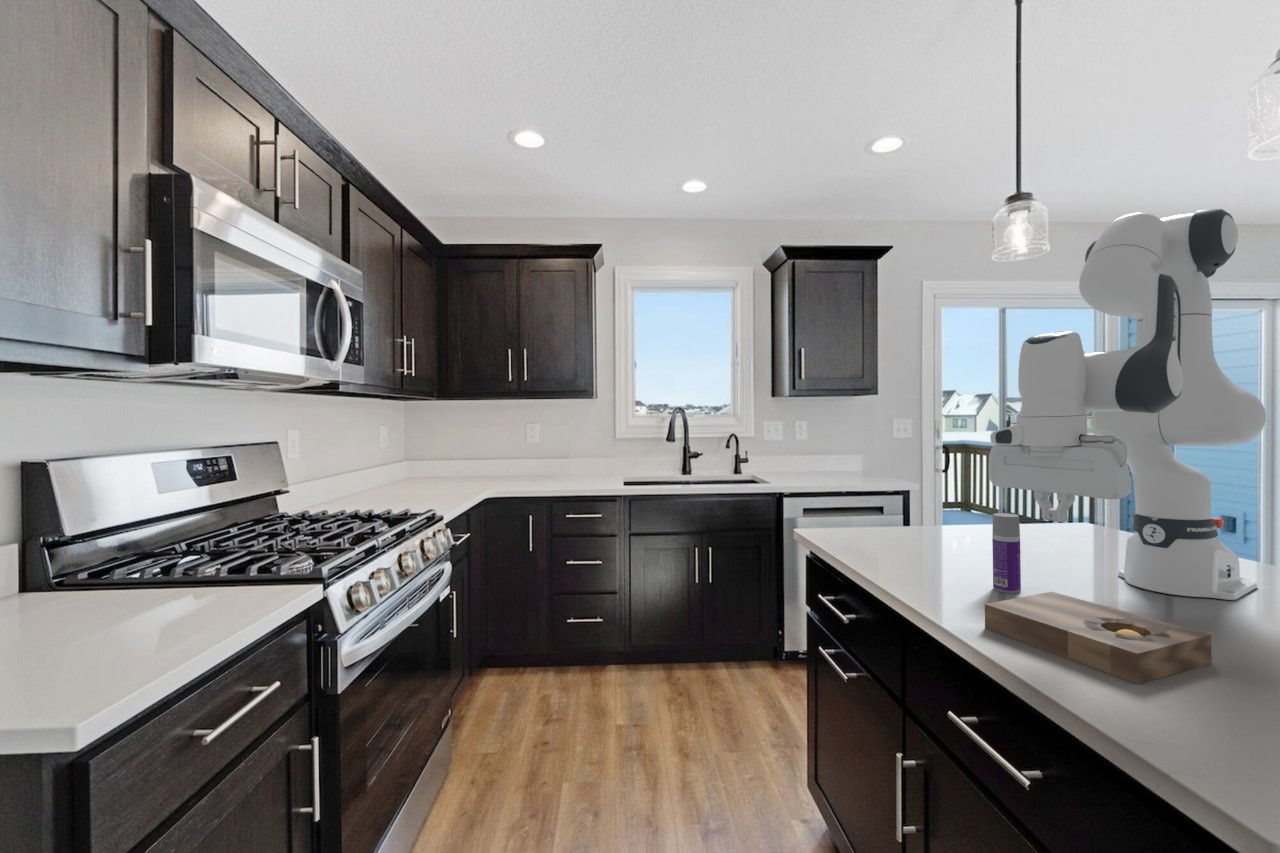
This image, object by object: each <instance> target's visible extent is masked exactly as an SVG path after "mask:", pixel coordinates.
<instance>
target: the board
mask: <svg viewBox="0 0 1280 853" xmlns="http://www.w3.org/2000/svg"><path fill="white" fill-rule="evenodd" d="M984 629H986V630H989V631H992V632H994V633H998V634H1000V635H1003V636H1005V637H1009V638H1011V639H1013V640H1017V641H1019V642H1021V643H1025V644H1028V645H1029V646H1032V647H1035V648H1039V649H1041V650H1043V651H1047V652H1049V653H1051V654H1054V655H1057V656H1059V657H1062V658H1065V659H1068V660H1070V661H1071V660H1072V661H1074V662H1076V663H1079V664H1081V665H1084V666H1087V667H1090V668H1092V669H1095V670H1098V671H1101V672H1104V673H1107V674H1109V675H1112V676H1114V677H1117V678H1119V679H1123V680H1126V681H1128V682H1130V683H1134V684H1137V685H1140V684H1143V683H1148V682H1150V681H1154V680H1158V679H1161V678H1164V677H1170V676H1172V675H1175V674H1179V673H1182V672H1186V671H1189V670H1193V669H1196V668H1200V667H1203V666H1207V665H1210V664H1213V663H1212V658H1213V657H1212V634H1209V633H1207V632H1206V633H1205V632H1202V631H1198V630H1195V629H1192V628H1189V627H1184V626H1180V625H1176V624H1174V623H1169V622H1166V621H1161V620H1158V619H1155V618H1150V617H1148V616H1143V615H1139V614H1135V613H1132V612H1128V611H1124V610H1122V609H1117V608H1114V607H1110V606H1106V605H1102V604H1099V603H1095V602H1092V601H1091V602H1090V601H1087V600H1084V599H1080V598H1077V597H1073V596H1069V595H1065V594H1061V593H1058V592H1054V591H1048V592H1043V593H1036V594H1032V595H1027V596H1021V597H1015V598H1011V599H1010V598H1009V599H1004V600H999V601H993V602H989V603H984ZM1123 629H1128V630H1132V631H1135V632H1137V633H1139V634H1140V635H1141V636H1129V635H1124V634H1118V633H1115V632H1117V631H1119V630H1123Z"/></svg>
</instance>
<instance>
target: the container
mask: <svg viewBox="0 0 1280 853" xmlns="http://www.w3.org/2000/svg"><path fill="white" fill-rule="evenodd" d="M1020 529H1021V528H1020V515H1018V514H1016V513H1008V512H1007V513H1006V512H1000V513H999V512H998V513H996V512H995V513H992V537H991V538H992V589H993V590H994V591H995V592H996V591H997V592H999V593H1004V594H1014V595H1015V594H1020V593H1021V592H1022V586H1021V585H1022V584H1021V583H1022V574H1021V573H1022V572H1021V571H1022V570H1021V568H1022V566H1021V532H1020Z"/></svg>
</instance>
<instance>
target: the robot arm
mask: <svg viewBox="0 0 1280 853" xmlns="http://www.w3.org/2000/svg"><path fill="white" fill-rule="evenodd" d="M1238 241H1239V230H1238V226H1237V224H1236V222H1235V220H1234V218H1233V216H1232V215H1231V214H1230V213H1229V212H1227V211H1226V210H1225V209H1223V208H1221V209H1220V208H1210V209H1199V210H1196V211H1195V212H1191V213H1185V214H1176V215H1172V216H1168V217H1162V218H1160V217H1158V216H1156V215H1154V214H1150V213H1146V212H1134V213H1129V214H1125V215H1123V216H1120V217H1118V218H1116V219H1115V220H1112V222H1111V223H1109V225H1108V226H1106V227H1105V229H1104V230H1103V231H1102V233H1101V234H1100V236H1099V237H1098V238H1096V239H1094V240H1093V241H1092V243H1091V244H1090V245H1089V247H1088V248H1087V249H1086V253H1085V257H1084V263H1085V264H1084V265H1083V268H1082V270H1081V274H1080V277H1079V285H1078V289H1079V293H1080V295H1081V297H1082V299H1083V300H1084V301H1085V302H1086V303H1087V305H1088V306H1090V307H1091V308H1093V309H1095V310H1097V311H1098V312H1101V313H1103V314H1107V315H1110V316H1115V317H1116V316H1118V317H1129V318H1135V319H1136V324H1135V325H1136V329H1135V330H1136V331H1135V337H1136V338H1135V346H1132V347H1129V348H1125V349H1119V350H1118V349H1117V350H1107V351H1106V350H1105V351H1099V352H1085V351H1084V349H1083V345H1082V344H1083V343H1082V338H1081V336H1080V333H1078V332H1076V331H1072V330H1070V331H1069V330H1067V331H1066V330H1064V331H1055V332H1054V331H1053V332H1048V333H1043V334H1037V335H1034V336H1031V337H1028V338H1027V339H1025V340H1024V341H1023V342H1022V345H1021V349H1020V354H1019V359H1018V360H1019V361H1018V374H1017V375H1018V382H1017V383H1018V384H1017V385H1018V392H1019V393H1018V394H1019V395H1020V399H1021V407H1020V410H1019V413H1018V414H1019V415H1018V417H1019V418H1018V419H1019V423H1015V424H1013V425H1011V426H1007V427H1005V428H1000V429H998V430H995V431H992V432H990V436H989V437H990V442H991V444H992V445H993V446H992V447H991V449H990V451H989V455H988V478H989V481H990V482H991V484H992V485H993V486H994V487H1000V488H1007V489H1016V490H1017V489H1019V490H1026V491H1033V498H1034V499H1035V501H1036V503H1037V504H1038V506H1039V508H1040V509H1041V518H1042V519H1043V520H1047V521H1054V522H1057V523H1058V522H1059V523H1064V522H1067V521H1068V511H1069V509H1070V508H1071V507H1072V505H1074V502H1075V501H1076V496H1077V497H1087V498H1088V497H1089V498H1096V499H1103V500H1119V499H1120V500H1121V499H1124V498H1126V497H1128V495H1129V494H1130V493H1131V492H1132V482H1131V477H1130V473H1131V475H1132V480H1133V488H1134V506H1135V512H1134V513H1133V514H1132V518H1131V523H1132V530H1133V531H1134V532H1133V534H1132V535H1131V536H1129V537H1128V538H1127V540H1126V546H1125V547H1126V548H1125V557H1124V558H1125V559H1124V568H1123V569H1119V570H1118V573H1117V575H1118V576H1119V577H1120V578H1123V579H1124V580H1125V582H1126V583H1127V584H1130V585H1131V586H1134V587H1137V588H1141V589H1144V590H1148V591H1151V592H1157V593H1163V594H1168V595H1175V596H1182V597H1192V598H1196V597H1197V598H1210V599H1211V598H1212V599H1219V600H1228V601H1236V600H1238V599H1239V598H1241V597H1243V596H1245V595H1247V594H1248V593H1250V592H1251V591H1253V590H1255V589H1256V588H1257V589H1258V583H1257V582H1256V581H1254V580H1252V579H1251V580H1250V579H1247V578H1244V577H1241V572H1240V559H1239V557H1238V555H1237V554H1236V553H1235V552H1233V551H1232V550H1231V549H1230V548H1229V547H1227V546H1226V544H1224V543H1223V542H1222V541H1221V540H1220V539H1218V538H1217V537H1218V536H1219V534H1218V529H1223V528H1224V526H1225V520H1224V518H1220V517H1212V494H1211V492H1212V487H1211V486H1212V485H1211V482H1210V479H1209V477H1208V476H1207V475H1206V474H1205V473H1204V472H1202V470H1200V469H1198V468H1196V467H1194V466H1192V465H1189V464H1188V463H1185V462H1182V461H1180V460H1179V459H1178V458H1177V457H1176V455H1175V454H1174V452H1173V449H1172V446H1180V447H1181V446H1186V447H1187V446H1188V447H1223V446H1233V445H1238V444H1245V443H1250V442H1251V441H1253V440H1254V439H1255V438H1256V437H1257V436H1259V434H1260V433H1261V432H1262V431H1263V429H1264V427H1265V425H1266V421H1267V414H1266V413H1267V412H1266V409H1265V406H1264V404H1263V403H1262V401H1261V400H1260V399H1259V398H1258V397H1257V396H1256V395H1254V393H1252V392H1251V391H1248V390H1247V389H1244V388H1242V387H1240V386H1239V385H1237V384H1236V383H1235V382H1233V381H1232V380H1231V379H1229V377H1227V376H1226V375H1225V373H1224V372H1223V371H1222V369H1221V368H1220V366H1219V364H1218V362H1217V360H1216V357H1215V352H1214V343H1213V305H1212V304H1213V303H1212V294H1211V287H1210V284H1209V280H1208V278H1210V277H1212V276H1213V275H1214V274H1215V273H1216V272H1217V270H1218V269H1219V268H1221V267H1223V266H1224V265H1225V264H1226V263H1227V262H1228V260H1230V258H1232V256H1233V255H1234V253H1235V251H1236V248H1237V243H1238ZM1088 412H1089V413H1090V412H1092V413H1091V418H1090V419H1091V425H1092V427H1093V430H1094V432H1095V433H1096V434H1095V435H1094V434H1088ZM1129 469H1130V470H1129ZM1052 493H1053V494H1056V500H1057V501H1059V503H1058V506H1057V507H1056V508H1055V507H1053V505H1052V503H1051V500H1050V499H1049V498H1052Z"/></svg>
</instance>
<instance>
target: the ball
mask: <svg viewBox="0 0 1280 853" xmlns="http://www.w3.org/2000/svg"><path fill="white" fill-rule="evenodd" d="M1115 633H1118V634H1124V635H1129V636H1141V635H1140V634H1139V633H1137V632H1135V631H1132V630H1128V629H1123V630H1119V631H1117V632H1115Z"/></svg>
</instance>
